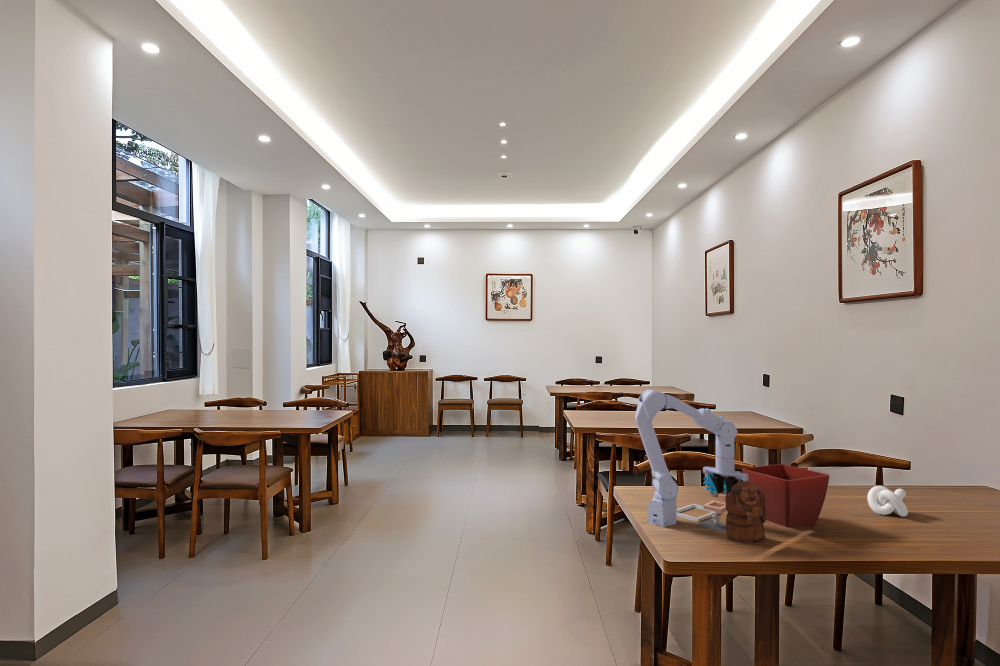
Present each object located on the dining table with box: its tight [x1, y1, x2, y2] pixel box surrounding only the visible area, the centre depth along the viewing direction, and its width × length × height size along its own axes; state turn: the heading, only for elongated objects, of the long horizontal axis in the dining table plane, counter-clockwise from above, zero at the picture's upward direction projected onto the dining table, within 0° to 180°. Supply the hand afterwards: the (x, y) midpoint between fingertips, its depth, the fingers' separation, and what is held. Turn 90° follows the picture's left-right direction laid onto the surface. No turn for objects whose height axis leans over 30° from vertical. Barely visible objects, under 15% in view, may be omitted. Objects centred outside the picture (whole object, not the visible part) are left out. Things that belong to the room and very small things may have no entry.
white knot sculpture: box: [866, 485, 909, 518], centre depth 193 cm, size 11×12×9 cm
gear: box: [703, 473, 727, 497], centre depth 220 cm, size 11×6×10 cm
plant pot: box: [742, 463, 830, 528], centre depth 184 cm, size 19×19×17 cm
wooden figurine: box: [725, 480, 767, 545], centre depth 165 cm, size 12×6×18 cm, turn 110°
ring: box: [702, 491, 727, 514], centre depth 179 cm, size 10×6×4 cm, turn 130°
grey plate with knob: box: [695, 514, 726, 534], centre depth 177 cm, size 9×9×4 cm
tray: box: [677, 503, 721, 523], centre depth 190 cm, size 14×10×2 cm
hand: (725, 498), depth 181 cm, fingers closed on ring, 2 cm apart
